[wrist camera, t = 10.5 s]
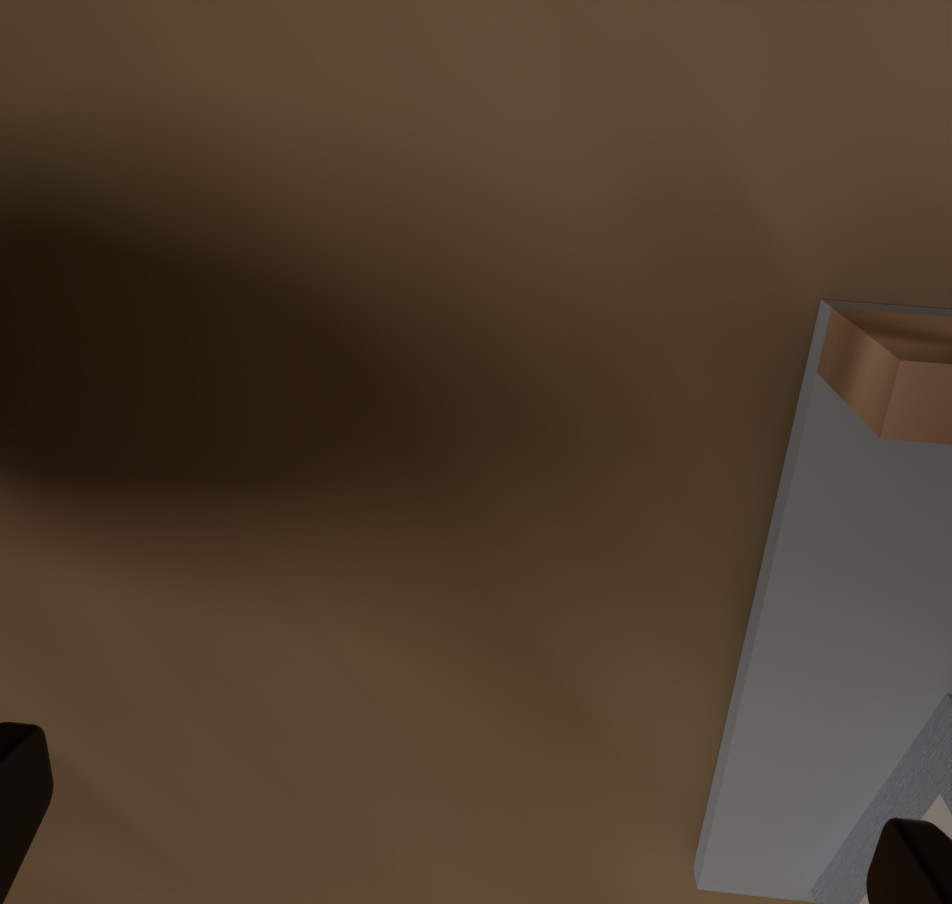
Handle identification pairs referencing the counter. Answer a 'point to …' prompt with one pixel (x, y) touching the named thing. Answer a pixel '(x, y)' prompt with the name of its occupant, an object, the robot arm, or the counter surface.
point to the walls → (892, 371)
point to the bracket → (896, 808)
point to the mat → (832, 643)
